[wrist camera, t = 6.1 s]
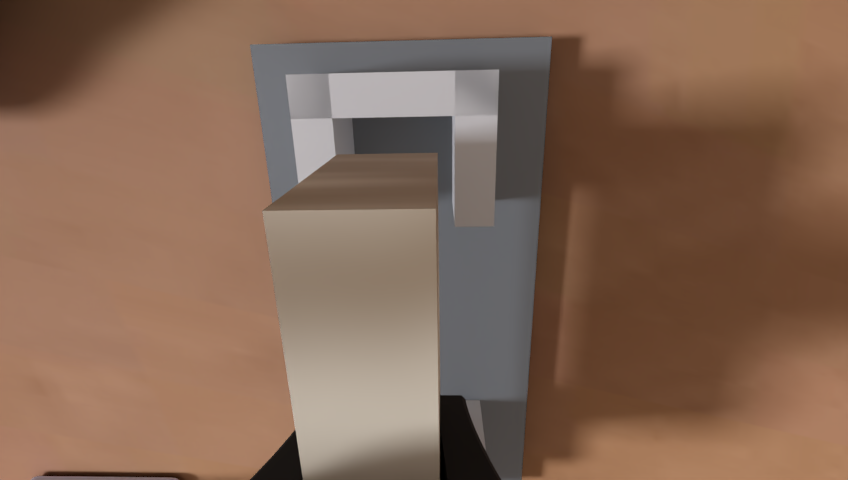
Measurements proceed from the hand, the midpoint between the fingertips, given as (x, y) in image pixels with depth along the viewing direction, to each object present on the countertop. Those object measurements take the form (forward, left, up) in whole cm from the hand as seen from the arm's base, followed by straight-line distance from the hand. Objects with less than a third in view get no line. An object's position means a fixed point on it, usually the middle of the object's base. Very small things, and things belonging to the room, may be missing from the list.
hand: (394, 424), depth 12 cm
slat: (0, 0, -2) cm, 2 cm away
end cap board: (0, 0, -8) cm, 8 cm away
